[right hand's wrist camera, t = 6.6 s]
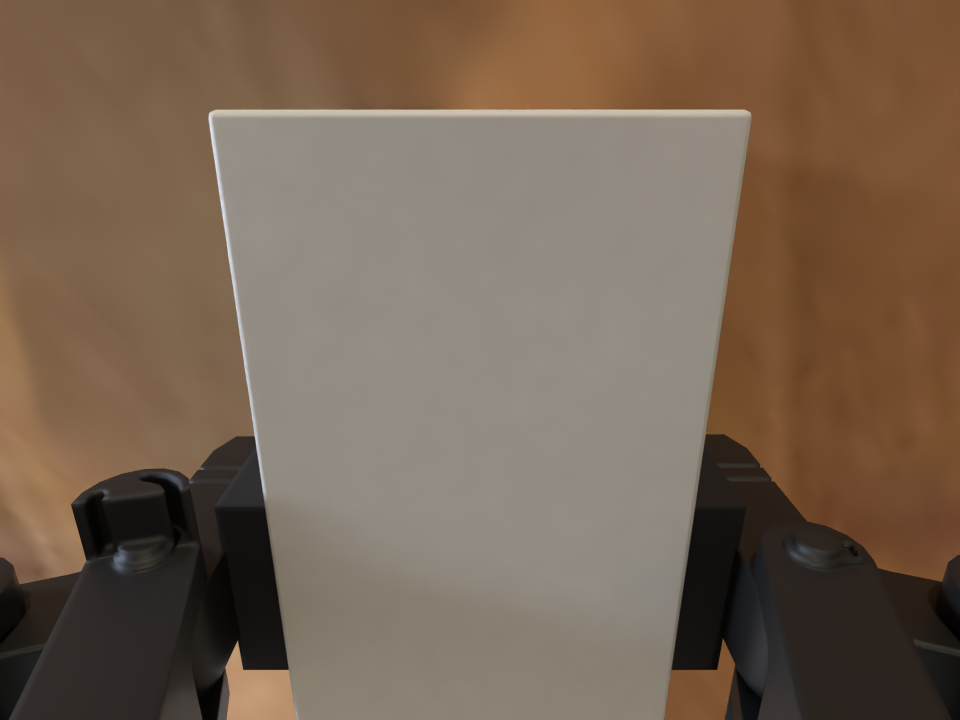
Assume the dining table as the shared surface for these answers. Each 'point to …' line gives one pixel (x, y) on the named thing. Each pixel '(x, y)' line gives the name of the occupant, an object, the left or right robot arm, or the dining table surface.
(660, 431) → the post
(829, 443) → the dining table surface
